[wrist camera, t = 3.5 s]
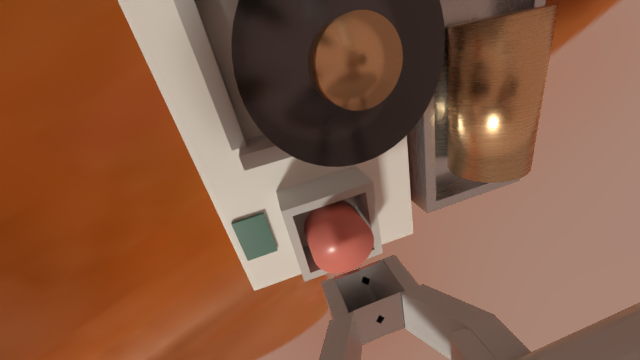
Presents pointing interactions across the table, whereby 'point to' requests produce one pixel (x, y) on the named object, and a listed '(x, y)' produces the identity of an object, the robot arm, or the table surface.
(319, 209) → the button
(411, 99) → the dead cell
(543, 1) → the trough
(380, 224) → the battery tester
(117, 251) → the table surface
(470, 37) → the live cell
